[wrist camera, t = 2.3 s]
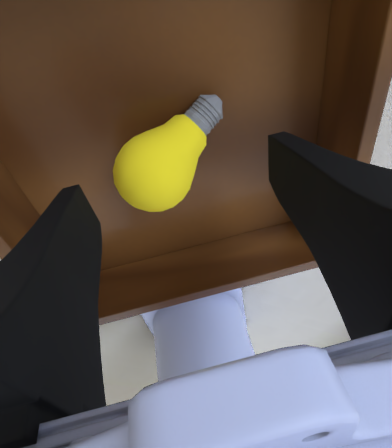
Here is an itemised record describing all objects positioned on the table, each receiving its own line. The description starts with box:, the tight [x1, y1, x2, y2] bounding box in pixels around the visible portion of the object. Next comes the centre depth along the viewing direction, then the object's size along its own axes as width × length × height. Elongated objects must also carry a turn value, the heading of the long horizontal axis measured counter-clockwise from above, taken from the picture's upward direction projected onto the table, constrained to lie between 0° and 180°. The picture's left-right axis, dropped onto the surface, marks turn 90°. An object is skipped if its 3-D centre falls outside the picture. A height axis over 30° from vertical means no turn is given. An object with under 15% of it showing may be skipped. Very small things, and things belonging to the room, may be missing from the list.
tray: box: [0, 0, 392, 325], centre depth 13 cm, size 17×16×4 cm
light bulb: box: [113, 94, 223, 212], centre depth 14 cm, size 3×6×4 cm, turn 130°
